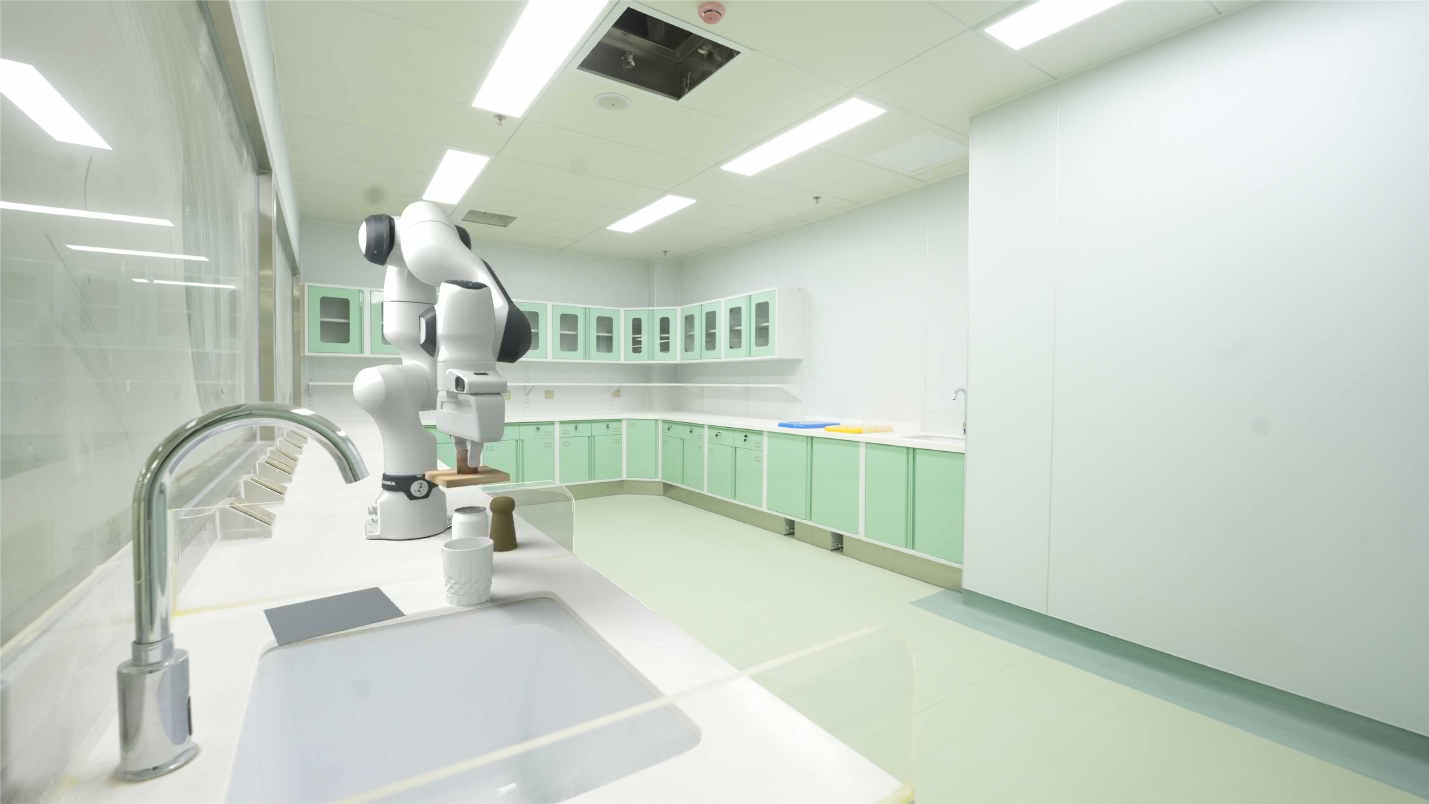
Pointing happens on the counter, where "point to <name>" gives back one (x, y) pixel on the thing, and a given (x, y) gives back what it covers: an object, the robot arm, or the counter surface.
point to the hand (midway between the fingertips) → (467, 464)
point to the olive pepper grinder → (503, 524)
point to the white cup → (468, 570)
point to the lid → (466, 474)
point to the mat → (330, 615)
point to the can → (470, 522)
